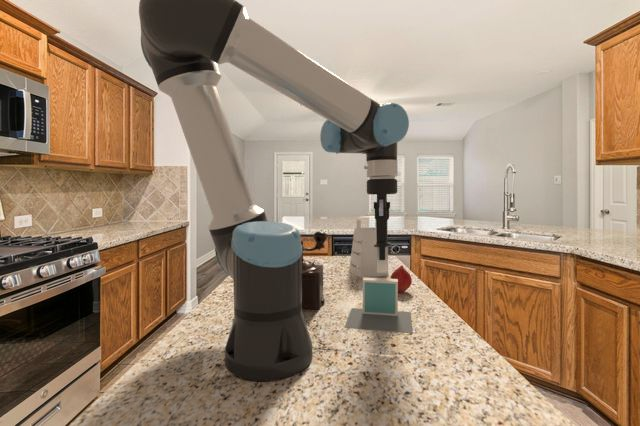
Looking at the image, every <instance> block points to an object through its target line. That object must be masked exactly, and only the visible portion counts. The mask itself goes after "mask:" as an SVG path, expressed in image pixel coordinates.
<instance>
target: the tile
mask: <svg viewBox="0 0 640 426" xmlns="http://www.w3.org/2000/svg"><path fill="white" fill-rule="evenodd" d="M398 294H399V292H398V279H391V278H381V277H363V278H362V309H363V314H376V315H390V316H398V311H399V309H398V308H399V305H398V304H399V303H398V302H399V299H398V298H399V295H398Z"/></svg>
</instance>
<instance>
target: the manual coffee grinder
mask: <svg viewBox="0 0 640 426" xmlns="http://www.w3.org/2000/svg"><path fill="white" fill-rule="evenodd" d="M312 235H313V236H312V238H313V240H314V241H315V244H314V247H304V241H303V240H301V244H302V311H320V310H321V308H322V307H323V305H324V304H325V300H326V299H325V297H324V265H323V264H315V262H316V260H314V261H313V262H312V261H309V260H307V259H306V260H305V259H304V252H313V251H316V250H319V251H320V250H321V249H324V248H325V247H326V246H325V242H326V241H327V239H328V234H327V233H326V232H324V231H321V230H320V231H316V232H314V233H313V234H312Z"/></svg>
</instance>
